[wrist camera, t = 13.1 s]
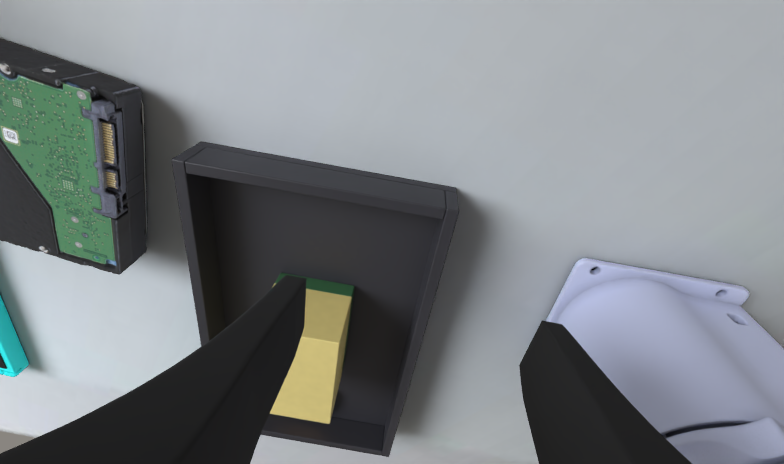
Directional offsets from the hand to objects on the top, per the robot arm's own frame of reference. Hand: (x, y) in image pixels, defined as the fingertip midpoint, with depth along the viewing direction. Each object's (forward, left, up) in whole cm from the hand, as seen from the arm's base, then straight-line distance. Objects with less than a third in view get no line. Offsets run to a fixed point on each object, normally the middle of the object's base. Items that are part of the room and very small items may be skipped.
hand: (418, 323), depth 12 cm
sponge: (+5, +10, -9) cm, 14 cm away
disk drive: (+22, +1, -10) cm, 24 cm away
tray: (+5, +10, -9) cm, 15 cm away
